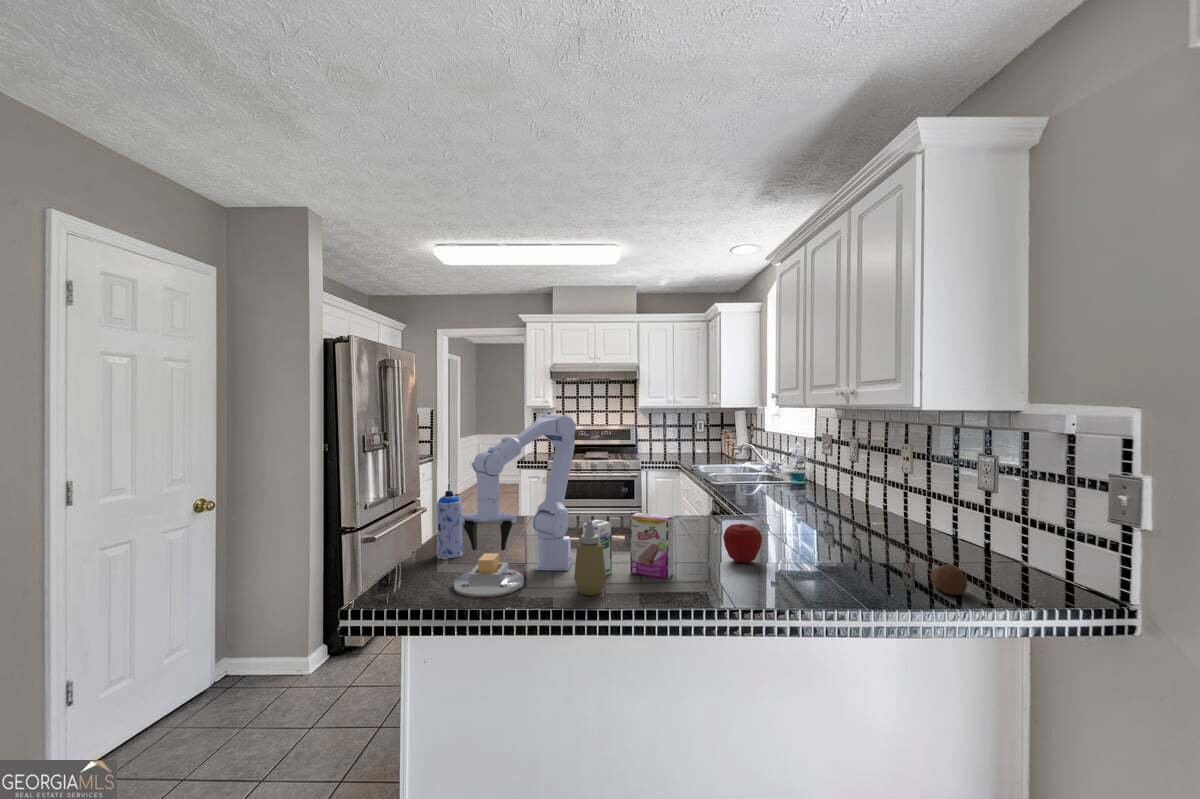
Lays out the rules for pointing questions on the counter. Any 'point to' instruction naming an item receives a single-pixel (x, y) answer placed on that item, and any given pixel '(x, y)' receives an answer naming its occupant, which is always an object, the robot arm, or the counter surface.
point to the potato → (949, 579)
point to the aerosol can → (449, 526)
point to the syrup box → (603, 541)
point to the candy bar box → (651, 545)
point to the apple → (742, 542)
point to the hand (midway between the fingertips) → (489, 549)
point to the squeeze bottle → (590, 563)
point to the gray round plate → (489, 582)
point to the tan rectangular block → (488, 563)
